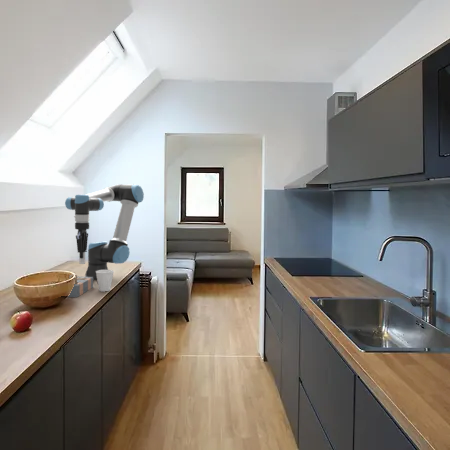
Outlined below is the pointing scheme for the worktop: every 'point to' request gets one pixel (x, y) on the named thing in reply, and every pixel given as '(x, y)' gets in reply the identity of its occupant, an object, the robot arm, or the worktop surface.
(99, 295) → the worktop surface
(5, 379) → the worktop surface
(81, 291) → the block
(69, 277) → the peg
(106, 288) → the cup
